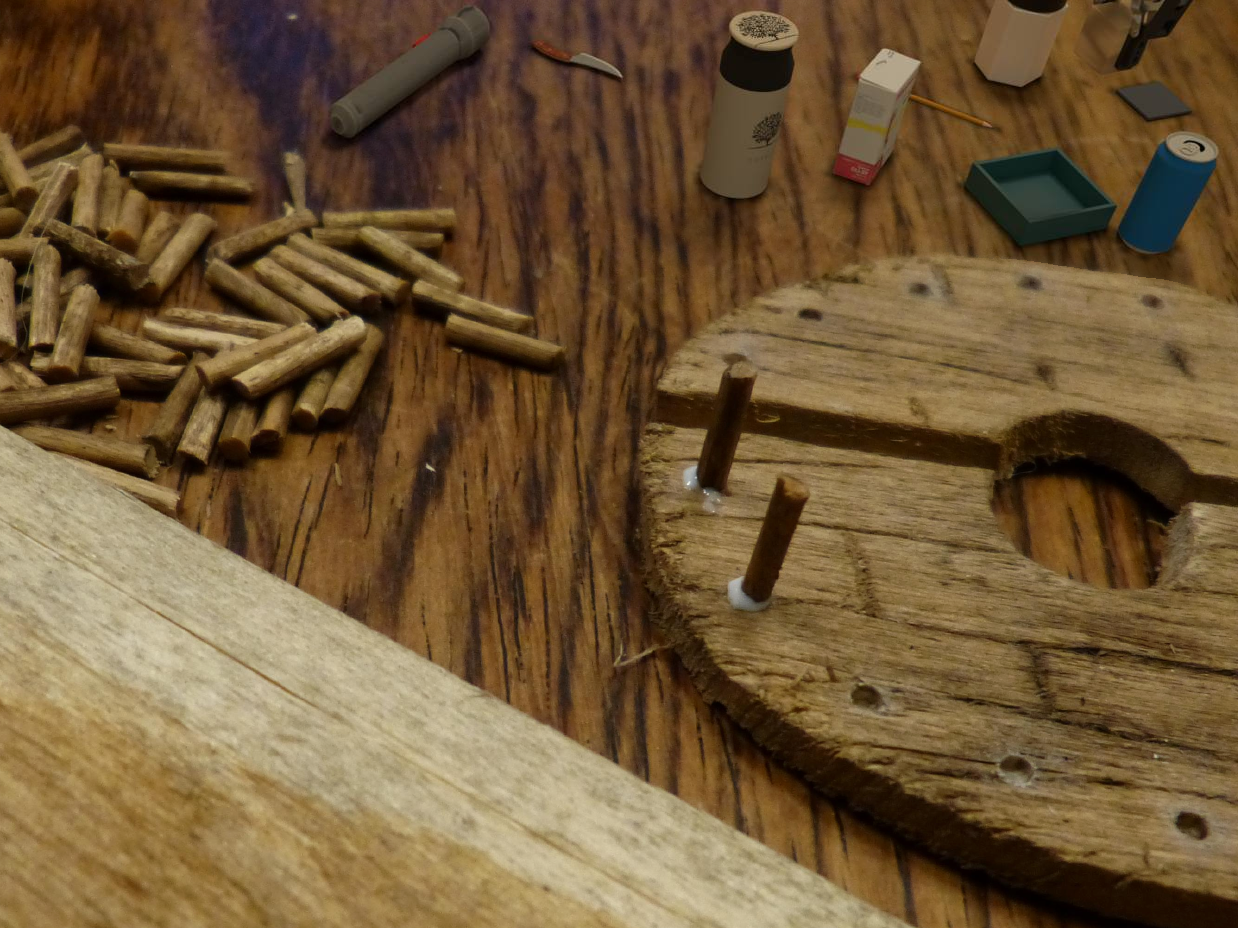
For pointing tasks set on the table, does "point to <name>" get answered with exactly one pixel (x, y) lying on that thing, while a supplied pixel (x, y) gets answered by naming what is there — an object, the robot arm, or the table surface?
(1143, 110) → the mat
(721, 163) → the travel mug
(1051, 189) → the tray
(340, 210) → the table surface
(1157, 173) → the beverage can
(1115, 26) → the beech block
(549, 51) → the knife
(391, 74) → the flashlight
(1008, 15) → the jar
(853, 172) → the ink box
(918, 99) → the pencil
